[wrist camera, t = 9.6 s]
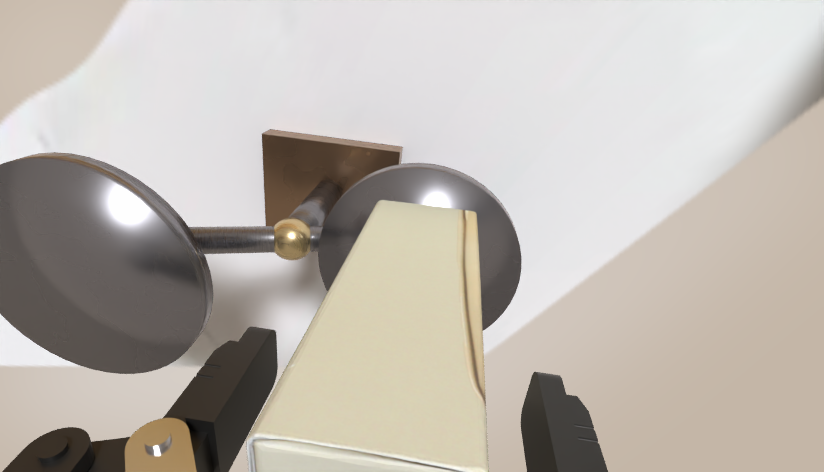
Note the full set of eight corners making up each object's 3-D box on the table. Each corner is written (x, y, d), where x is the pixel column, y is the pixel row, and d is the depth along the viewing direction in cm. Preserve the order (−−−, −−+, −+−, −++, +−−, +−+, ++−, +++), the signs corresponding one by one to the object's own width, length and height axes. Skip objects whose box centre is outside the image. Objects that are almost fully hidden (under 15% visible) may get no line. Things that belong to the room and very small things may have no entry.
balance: (518, 136, 25) (567, 231, 13) (489, 271, 29) (507, 436, 17) (161, 89, 26) (-81, 141, 14) (180, 227, 30) (2, 355, 18)
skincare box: (458, 328, 21) (456, 664, 10) (365, 316, 21) (262, 631, 10) (478, 204, 18) (504, 481, 7) (371, 192, 18) (237, 441, 7)
